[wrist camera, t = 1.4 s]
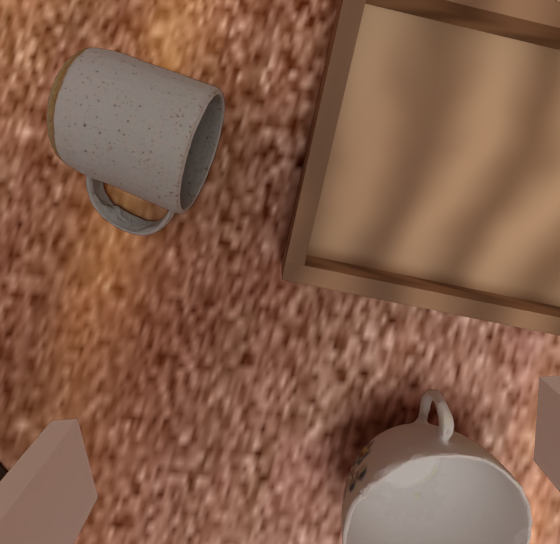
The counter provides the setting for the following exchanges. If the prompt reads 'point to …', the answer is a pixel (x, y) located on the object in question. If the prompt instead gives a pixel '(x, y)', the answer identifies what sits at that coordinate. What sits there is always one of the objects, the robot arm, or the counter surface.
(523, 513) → the teacup
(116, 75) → the ceramic mug
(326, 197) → the tray
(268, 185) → the counter surface
